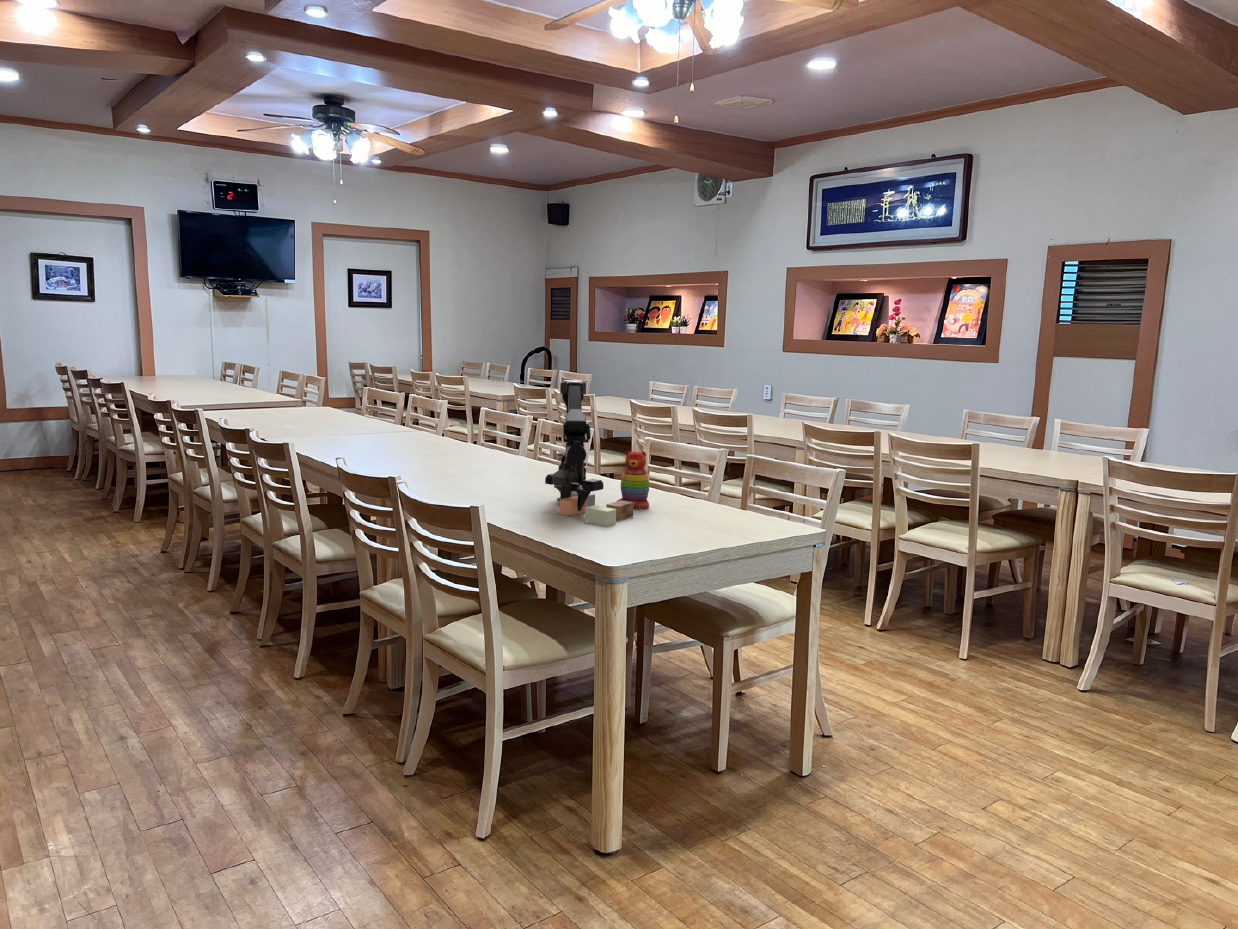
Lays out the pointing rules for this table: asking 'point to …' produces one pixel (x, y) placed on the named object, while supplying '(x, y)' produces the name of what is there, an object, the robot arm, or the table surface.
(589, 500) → the slate block
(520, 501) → the table surface
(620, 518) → the walnut block
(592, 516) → the sage block
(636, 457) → the stacking bear
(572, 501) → the terracotta block
